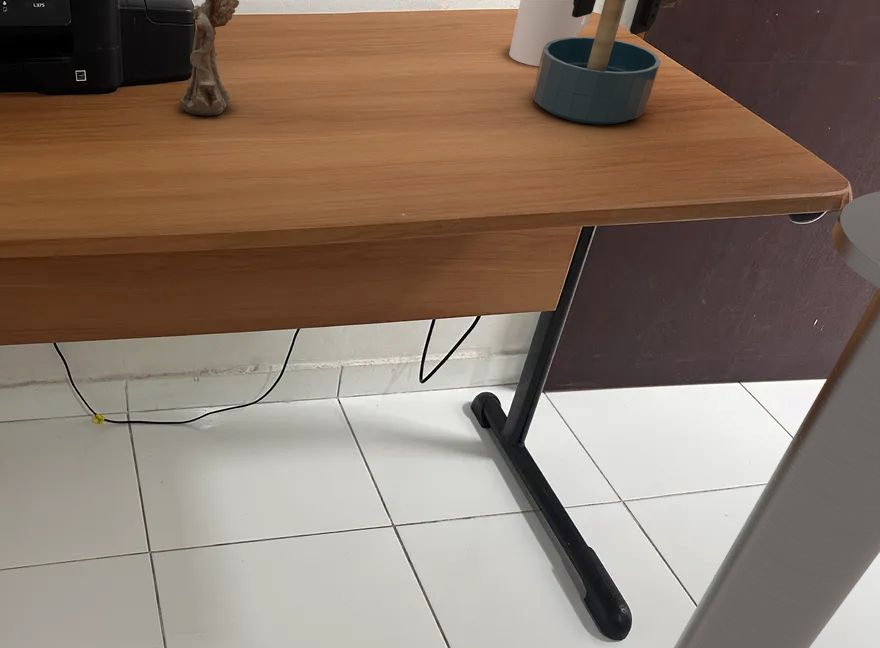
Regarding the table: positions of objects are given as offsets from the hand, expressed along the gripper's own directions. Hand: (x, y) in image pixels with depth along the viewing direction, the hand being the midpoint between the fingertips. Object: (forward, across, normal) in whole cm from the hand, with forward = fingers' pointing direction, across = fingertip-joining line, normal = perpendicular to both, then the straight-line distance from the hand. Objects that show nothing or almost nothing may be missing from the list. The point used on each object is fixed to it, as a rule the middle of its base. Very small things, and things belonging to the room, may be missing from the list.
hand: (610, 22), depth 101 cm
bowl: (+9, 0, 0) cm, 9 cm away
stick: (+9, 0, 0) cm, 9 cm away
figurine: (+10, +26, +37) cm, 47 cm away
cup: (+10, +15, -12) cm, 22 cm away
